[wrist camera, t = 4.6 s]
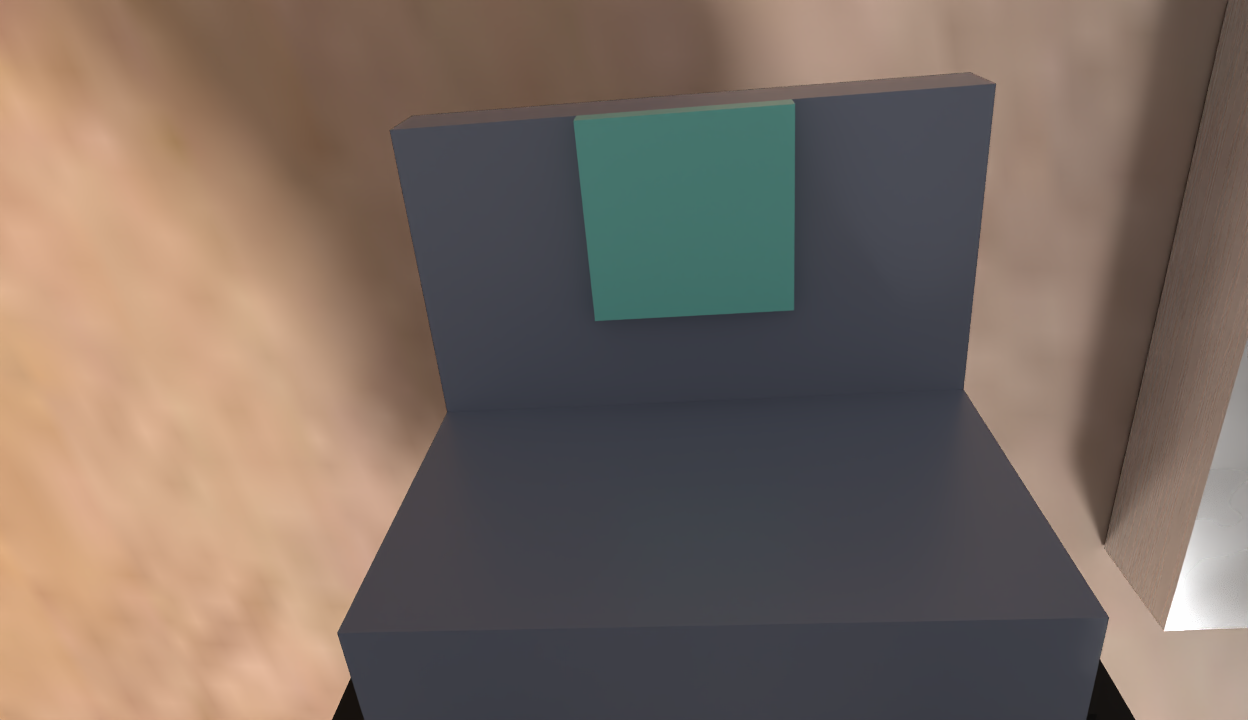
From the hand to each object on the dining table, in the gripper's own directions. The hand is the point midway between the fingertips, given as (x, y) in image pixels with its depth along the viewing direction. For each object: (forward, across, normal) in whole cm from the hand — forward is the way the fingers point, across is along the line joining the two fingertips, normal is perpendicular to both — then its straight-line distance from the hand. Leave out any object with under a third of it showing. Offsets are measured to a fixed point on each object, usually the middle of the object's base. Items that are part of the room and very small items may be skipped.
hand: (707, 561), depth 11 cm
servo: (+1, 0, 0) cm, 1 cm away
